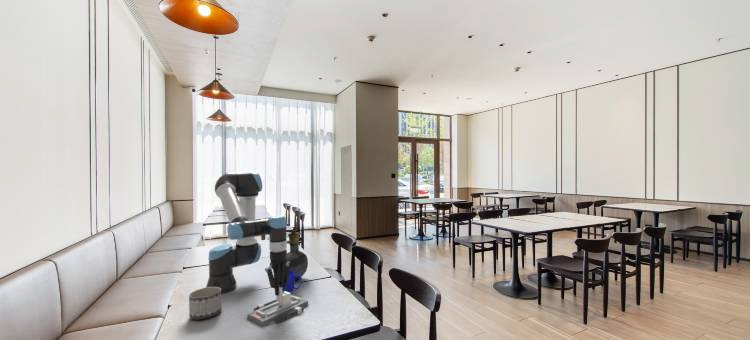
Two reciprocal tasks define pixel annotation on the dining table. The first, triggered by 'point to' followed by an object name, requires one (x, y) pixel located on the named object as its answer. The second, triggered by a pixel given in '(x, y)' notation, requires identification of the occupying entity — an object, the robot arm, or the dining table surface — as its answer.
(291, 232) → the pitcher
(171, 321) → the dining table surface
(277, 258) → the robot arm
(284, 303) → the toggle
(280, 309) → the panel
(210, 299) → the planter
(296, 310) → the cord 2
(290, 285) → the mug
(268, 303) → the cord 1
